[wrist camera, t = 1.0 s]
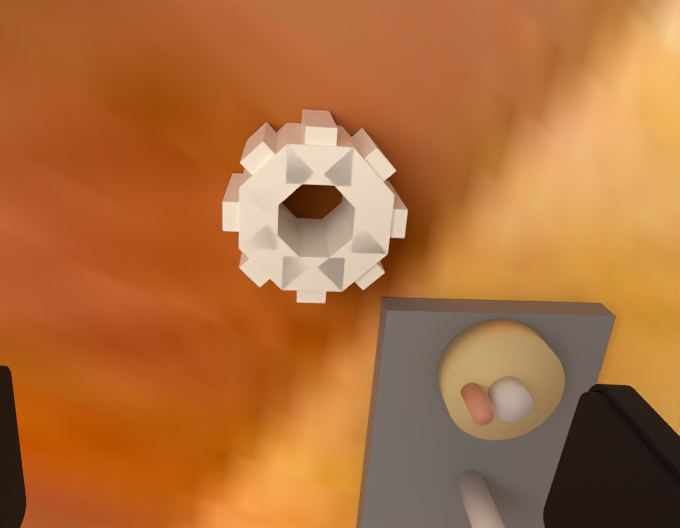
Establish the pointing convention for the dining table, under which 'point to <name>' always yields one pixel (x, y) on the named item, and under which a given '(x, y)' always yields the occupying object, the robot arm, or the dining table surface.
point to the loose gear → (313, 234)
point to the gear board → (474, 408)
